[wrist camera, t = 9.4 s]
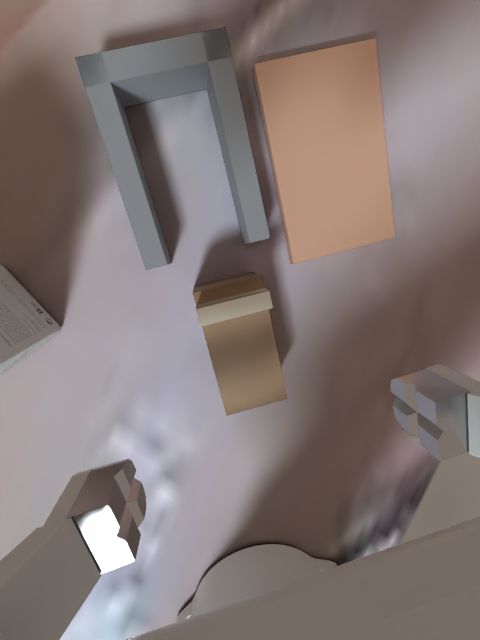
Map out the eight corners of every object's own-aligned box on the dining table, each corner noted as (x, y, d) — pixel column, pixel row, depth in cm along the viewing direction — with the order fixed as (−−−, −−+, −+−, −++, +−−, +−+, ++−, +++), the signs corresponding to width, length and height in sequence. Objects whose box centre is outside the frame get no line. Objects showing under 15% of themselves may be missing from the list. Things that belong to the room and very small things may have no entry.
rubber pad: (389, 237, 24) (395, 237, 24) (290, 263, 24) (293, 264, 23) (369, 45, 21) (375, 37, 20) (252, 71, 20) (254, 63, 19)
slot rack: (261, 239, 23) (270, 237, 20) (153, 267, 22) (146, 269, 19) (221, 60, 20) (225, 27, 17) (94, 87, 19) (75, 57, 16)
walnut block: (274, 377, 26) (293, 408, 21) (222, 391, 26) (228, 427, 21) (251, 272, 24) (266, 277, 18) (194, 286, 23) (192, 296, 18)
